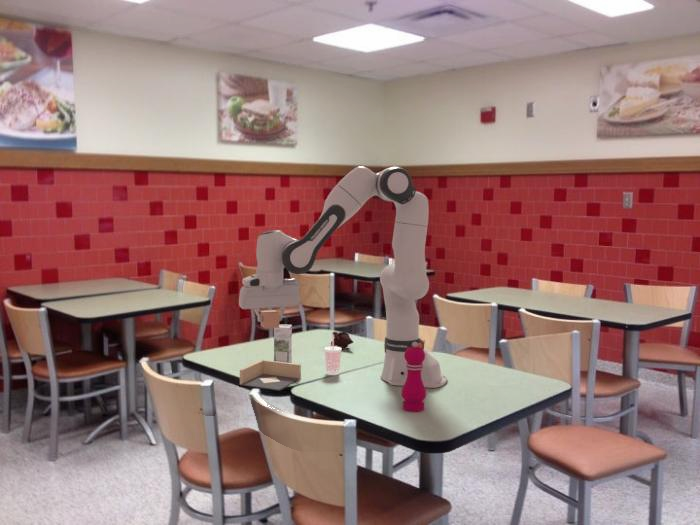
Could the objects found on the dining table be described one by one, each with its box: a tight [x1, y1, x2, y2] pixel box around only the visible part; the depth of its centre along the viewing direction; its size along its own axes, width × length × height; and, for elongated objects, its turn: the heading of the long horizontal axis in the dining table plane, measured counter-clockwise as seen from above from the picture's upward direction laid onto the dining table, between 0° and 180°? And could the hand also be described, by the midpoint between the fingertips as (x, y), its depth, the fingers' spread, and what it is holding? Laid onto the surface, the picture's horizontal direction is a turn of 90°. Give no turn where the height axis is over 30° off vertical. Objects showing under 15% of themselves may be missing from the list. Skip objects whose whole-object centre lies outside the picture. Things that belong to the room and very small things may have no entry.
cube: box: [260, 309, 280, 330], centre depth 212 cm, size 5×5×5 cm
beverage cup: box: [323, 334, 342, 376], centre depth 224 cm, size 6×6×14 cm
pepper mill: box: [401, 342, 427, 413], centre depth 187 cm, size 7×7×20 cm
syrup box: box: [273, 323, 293, 363], centre depth 236 cm, size 6×6×14 cm
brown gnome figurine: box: [330, 331, 354, 349], centre depth 263 cm, size 7×7×15 cm
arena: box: [239, 359, 302, 392], centre depth 213 cm, size 15×15×5 cm
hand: (269, 320), depth 212 cm, fingers closed on cube, 5 cm apart
